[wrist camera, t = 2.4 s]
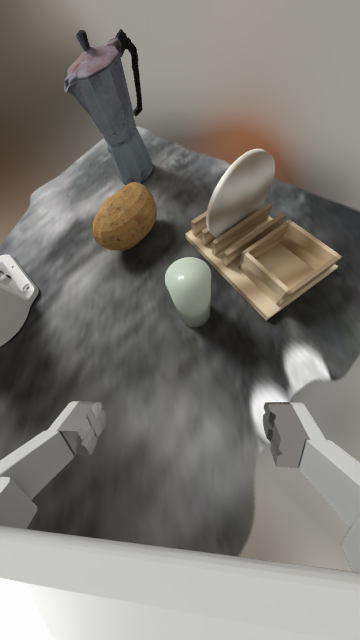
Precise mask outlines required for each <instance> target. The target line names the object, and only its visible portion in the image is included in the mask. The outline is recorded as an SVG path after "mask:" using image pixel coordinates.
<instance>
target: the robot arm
mask: <svg viewBox="0 0 360 640" xmlns="http://www.w3.org/2000/svg"><path fill="white" fill-rule="evenodd" d="M38 293H39V289H38V288H37V287H36V285H35V284H34V283H33V281H32V280H31V279H30V278H29V276H28V275H27V274H26V272H25V271H24V270H23V269H22V267H21V266H20V265H19V263H18V262H17V261H16V260H15V258H14V257H13V256H11V255H8V254H7V255H1V256H0V346H1V345H3V344H5V343H6V342H8V341H9V340H10V339H11V338H12V337H13V336H14V335H15V334H16V333H17V332H18V331H19V330H20V328H21V327H22V326H23V324H24V322H25V320H26V318H27V316H28V313H29V310H30V307H31V304H32V303H33V301H34V300H35V298H36V297H37V295H38ZM102 407H103V406H102V404H101V402H87V401H72V402H70V403H69V404H68V405H67V406H66V408H65V409H64V410H63V411H62V413H61V414H60V415H59V416H58V418H57V419H56V420H55V421H54V423H53V424H52V425H51V426H50V428H49V429H48V430H47V431H43V432H42V433H40V434H39V435H37V436H36V437H34V438H33V439H31V440H30V441H28V442H27V443H25V444H24V445H22V446H21V447H19V448H18V449H16V450H15V451H14V452H12V453H11V454H9V455H8V456H6V457H5V458H3V459H2V460H0V640H360V463H359V462H358V461H357V460H355V459H354V458H353V457H352V456H350V455H349V454H348V453H346V452H345V451H344V450H342V449H341V448H340V447H338V446H337V445H336V444H334V443H333V442H332V441H328V440H326V439H325V437H324V436H323V434H322V432H321V431H320V429H319V427H318V426H317V424H316V423H315V421H314V419H313V418H312V416H311V415H310V413H309V411H308V410H307V408H306V406H305V405H304V404H303V403H288V402H269V403H265V405H264V410H265V412H266V413H265V414H264V415H263V425H264V430H265V434H266V437H267V439H268V440H269V441H270V442H271V447H270V449H271V453H272V456H273V459H274V461H275V465H276V466H279V467H290V468H299V470H300V471H301V472H302V474H303V475H304V476H305V477H306V478H307V480H308V481H309V482H310V483H311V484H312V485H313V486H314V488H315V489H316V490H317V491H318V492H319V493H320V494H321V496H322V497H323V498H324V499H325V500H326V501H327V502H328V504H329V505H330V506H331V507H332V508H333V509H334V510H335V511H336V513H337V514H338V515H339V516H340V517H341V518H342V519H343V521H344V522H345V523H346V524H347V525H348V526H349V530H348V531H347V533H346V535H345V536H344V538H343V540H342V542H341V546H342V548H343V551H344V553H345V555H346V557H347V560H348V562H349V564H350V566H351V569H352V571H353V572H351V571H344V570H337V569H328V568H321V567H314V566H306V565H298V564H290V563H282V562H275V561H267V560H260V559H252V558H244V557H237V556H229V555H221V554H214V553H206V552H198V551H190V550H183V549H175V548H167V547H160V546H152V545H144V544H137V543H129V542H121V541H114V540H106V539H98V538H91V537H83V536H75V535H67V534H60V533H52V532H44V531H37V530H29V529H27V527H28V526H29V524H30V522H31V520H32V519H33V517H34V515H35V514H36V512H37V506H36V505H35V504H34V503H33V502H32V501H31V500H32V499H33V498H34V497H35V496H36V495H37V494H38V493H39V492H40V491H41V490H42V489H43V488H44V487H45V486H46V485H47V484H48V483H49V482H50V481H51V480H52V479H53V478H54V477H55V476H56V475H57V474H58V473H59V472H60V471H61V470H62V469H63V468H64V467H65V466H66V465H67V464H68V463H69V462H70V461H71V460H72V459H73V458H74V456H91V455H92V453H93V451H94V449H95V447H96V445H97V443H98V436H99V435H100V434H101V433H103V431H104V429H105V427H106V422H107V416H106V413H105V412H104V411H103V410H101V409H102Z"/></svg>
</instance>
